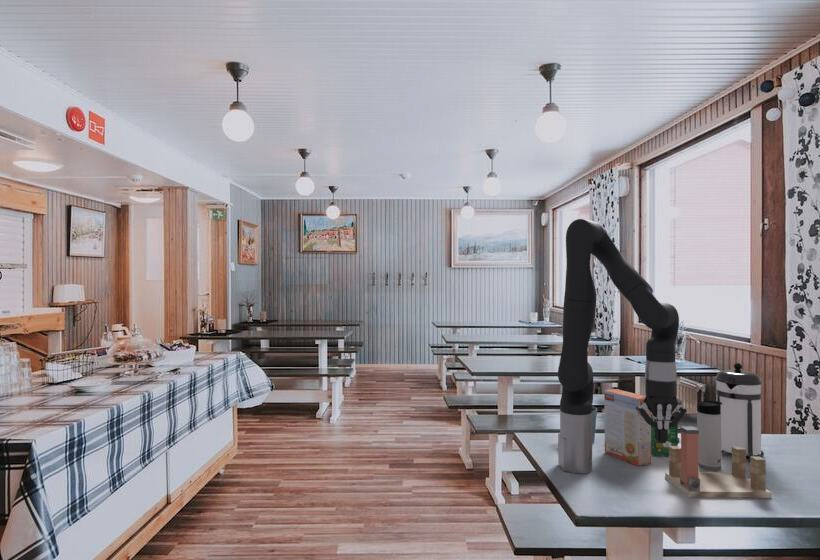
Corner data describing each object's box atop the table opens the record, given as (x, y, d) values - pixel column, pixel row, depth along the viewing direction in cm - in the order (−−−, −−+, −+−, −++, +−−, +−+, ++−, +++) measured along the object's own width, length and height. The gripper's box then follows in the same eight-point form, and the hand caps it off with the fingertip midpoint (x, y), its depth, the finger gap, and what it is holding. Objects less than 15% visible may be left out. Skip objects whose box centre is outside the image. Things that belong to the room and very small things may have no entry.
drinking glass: (568, 435, 181) (568, 402, 181) (597, 438, 177) (597, 405, 177) (566, 443, 171) (566, 409, 171) (597, 447, 167) (597, 412, 168)
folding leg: (686, 484, 129) (686, 429, 129) (680, 480, 132) (680, 426, 132) (699, 485, 129) (698, 430, 129) (692, 480, 132) (692, 426, 132)
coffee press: (781, 464, 150) (780, 367, 151) (724, 462, 153) (723, 366, 153) (751, 446, 168) (750, 358, 168) (700, 444, 170) (700, 358, 170)
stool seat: (690, 497, 127) (690, 461, 128) (665, 477, 141) (664, 444, 141) (772, 498, 127) (772, 462, 127) (739, 478, 140) (739, 445, 140)
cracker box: (652, 464, 151) (652, 396, 151) (637, 467, 149) (637, 398, 149) (617, 450, 164) (617, 387, 164) (604, 452, 162) (603, 389, 162)
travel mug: (726, 471, 145) (725, 404, 145) (702, 470, 146) (701, 403, 147) (717, 464, 151) (717, 399, 151) (694, 462, 153) (693, 398, 153)
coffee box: (673, 453, 161) (673, 413, 161) (678, 456, 158) (678, 416, 158) (649, 453, 161) (649, 413, 161) (654, 457, 158) (654, 416, 158)
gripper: (641, 380, 127) (642, 446, 127) (693, 380, 127) (694, 447, 127) (629, 374, 135) (630, 437, 135) (678, 374, 134) (679, 438, 134)
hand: (661, 442), depth 131 cm, fingers closed
